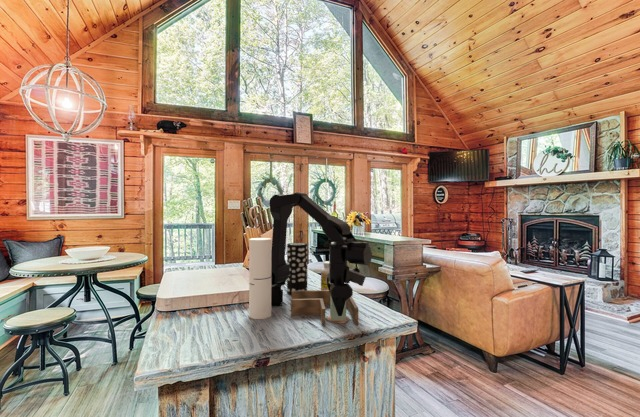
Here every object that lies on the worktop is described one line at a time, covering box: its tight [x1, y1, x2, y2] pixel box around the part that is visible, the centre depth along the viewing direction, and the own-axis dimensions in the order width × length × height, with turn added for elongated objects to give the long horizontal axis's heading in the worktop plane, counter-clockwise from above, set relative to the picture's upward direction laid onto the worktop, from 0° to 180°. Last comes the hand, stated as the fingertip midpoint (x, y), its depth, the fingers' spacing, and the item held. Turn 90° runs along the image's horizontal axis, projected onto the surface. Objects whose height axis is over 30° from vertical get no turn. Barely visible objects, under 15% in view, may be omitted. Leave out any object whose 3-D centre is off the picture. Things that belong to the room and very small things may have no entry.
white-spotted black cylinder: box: [286, 242, 308, 296], centre depth 130 cm, size 8×8×20 cm
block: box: [329, 293, 347, 321], centre depth 100 cm, size 4×4×8 cm
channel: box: [290, 289, 359, 326], centre depth 105 cm, size 20×20×5 cm
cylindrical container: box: [248, 237, 272, 320], centre depth 103 cm, size 7×7×25 cm
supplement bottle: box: [320, 260, 329, 290], centre depth 129 cm, size 7×7×13 cm
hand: (338, 310), depth 100 cm, fingers open, 9 cm apart
